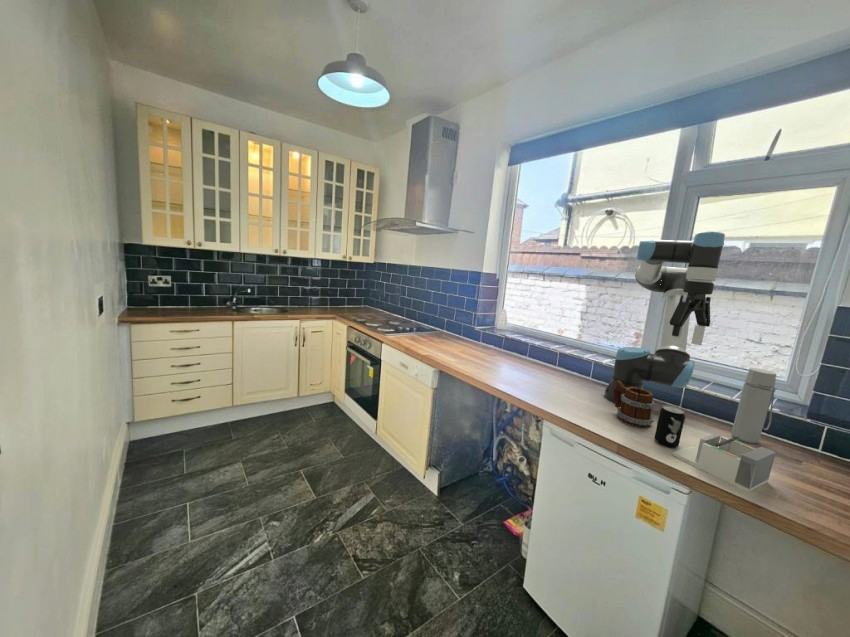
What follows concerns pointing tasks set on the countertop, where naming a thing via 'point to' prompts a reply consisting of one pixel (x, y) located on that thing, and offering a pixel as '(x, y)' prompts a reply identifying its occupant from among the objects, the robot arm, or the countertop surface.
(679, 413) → the beverage can
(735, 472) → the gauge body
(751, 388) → the water bottle
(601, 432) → the countertop surface
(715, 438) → the grey angled piece
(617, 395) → the mug
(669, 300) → the robot arm
